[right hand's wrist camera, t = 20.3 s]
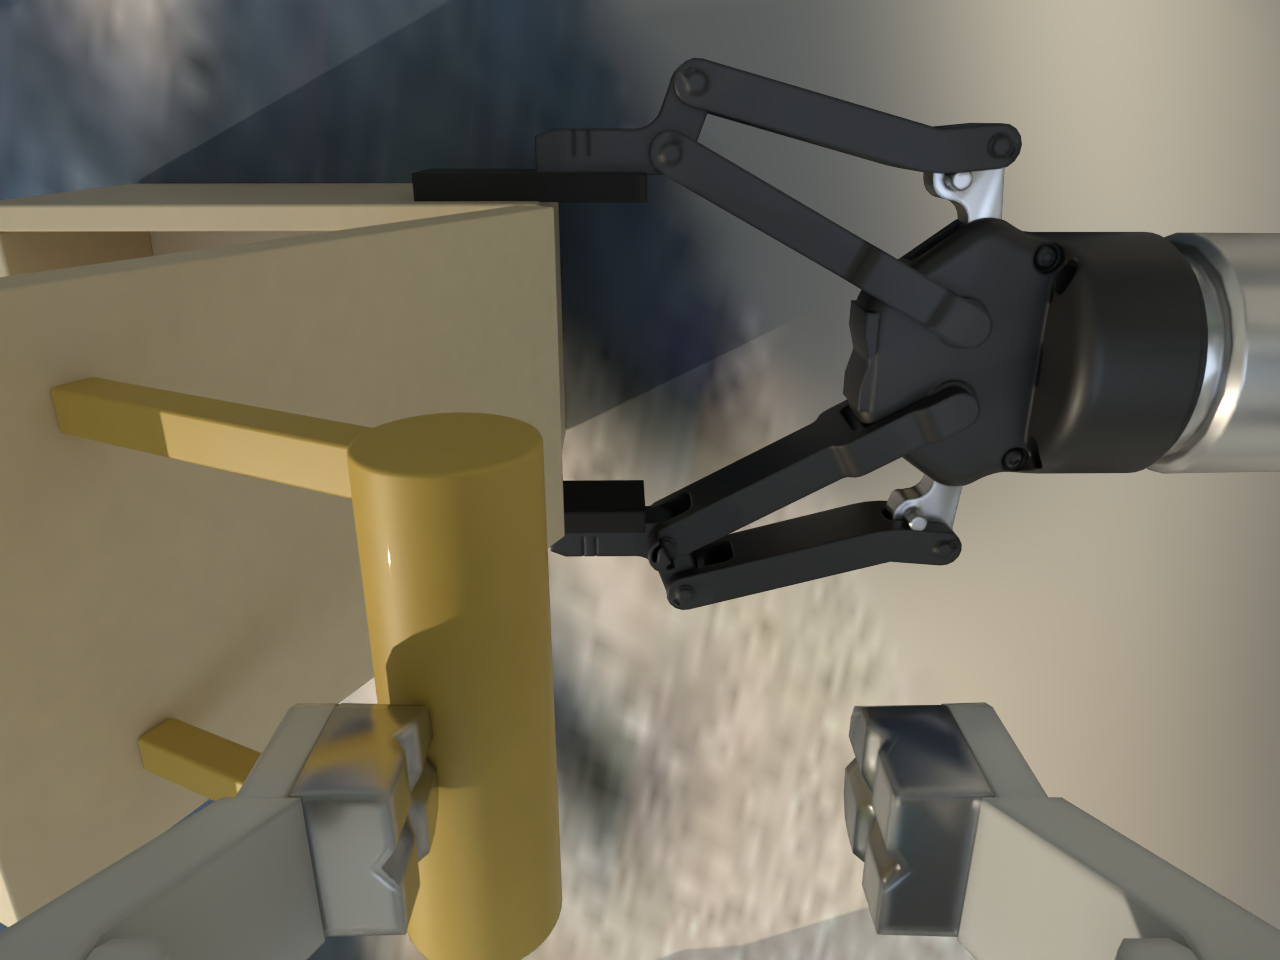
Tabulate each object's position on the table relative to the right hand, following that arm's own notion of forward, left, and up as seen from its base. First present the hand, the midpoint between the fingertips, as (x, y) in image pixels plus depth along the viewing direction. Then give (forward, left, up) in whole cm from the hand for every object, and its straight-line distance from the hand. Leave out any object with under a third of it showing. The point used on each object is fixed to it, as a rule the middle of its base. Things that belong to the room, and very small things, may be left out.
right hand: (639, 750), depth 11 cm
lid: (-3, -6, -9) cm, 12 cm away
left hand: (-2, -5, -19) cm, 20 cm away
